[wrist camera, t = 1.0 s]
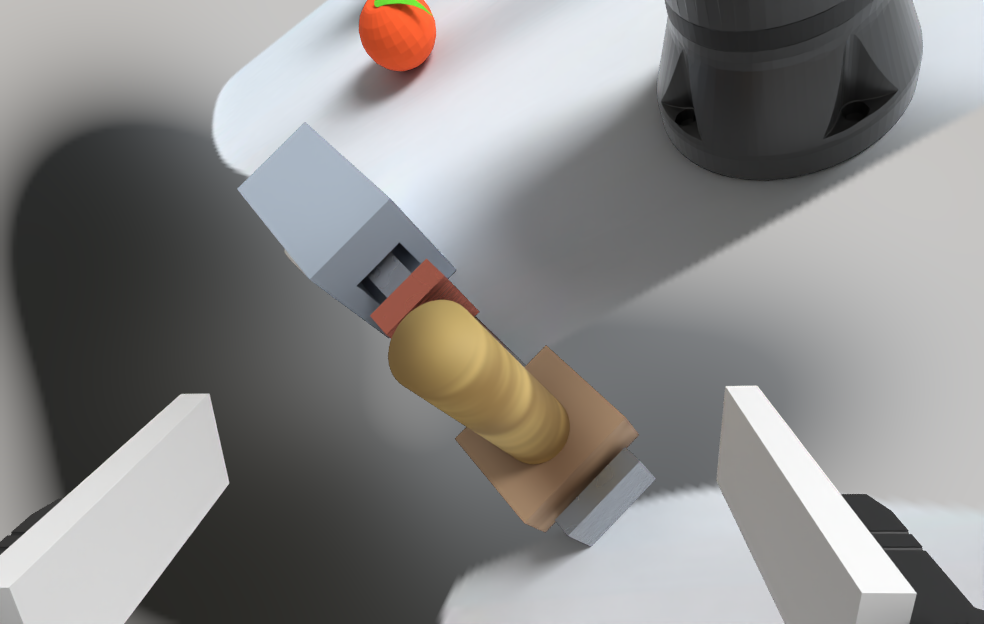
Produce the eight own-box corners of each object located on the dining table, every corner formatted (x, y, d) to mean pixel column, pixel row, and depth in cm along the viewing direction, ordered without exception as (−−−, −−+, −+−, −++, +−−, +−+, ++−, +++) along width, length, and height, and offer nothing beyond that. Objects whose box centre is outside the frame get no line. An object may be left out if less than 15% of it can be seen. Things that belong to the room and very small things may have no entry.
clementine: (468, 27, 58) (432, -41, 52) (443, 84, 56) (402, 20, 50) (401, 35, 62) (360, -27, 56) (375, 89, 60) (329, 30, 54)
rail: (458, 290, 44) (431, 262, 41) (656, 478, 33) (640, 460, 30) (409, 340, 44) (378, 316, 41) (591, 546, 33) (568, 535, 30)
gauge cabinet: (373, 193, 53) (304, 121, 46) (456, 270, 45) (390, 198, 38) (310, 256, 53) (231, 194, 45) (383, 343, 45) (302, 285, 38)
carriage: (541, 345, 37) (425, 213, 26) (639, 434, 32) (550, 321, 21) (459, 429, 37) (306, 334, 25) (545, 532, 32) (404, 470, 21)
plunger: (384, 221, 47) (347, 183, 43) (479, 311, 40) (444, 275, 36) (340, 266, 47) (298, 232, 43) (426, 365, 40) (386, 334, 36)
